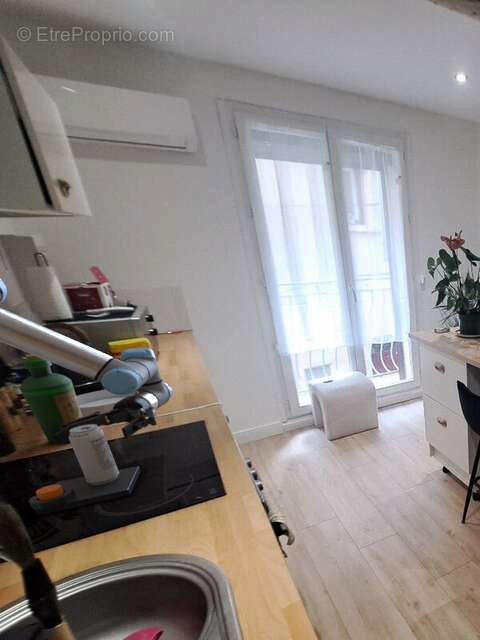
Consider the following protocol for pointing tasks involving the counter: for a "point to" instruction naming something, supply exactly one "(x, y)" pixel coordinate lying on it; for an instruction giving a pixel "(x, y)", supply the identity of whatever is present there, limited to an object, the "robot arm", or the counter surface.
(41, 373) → the bottle
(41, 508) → the scale
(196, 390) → the counter surface
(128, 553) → the counter surface
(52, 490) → the tare button
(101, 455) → the energy drink can
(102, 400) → the dish
